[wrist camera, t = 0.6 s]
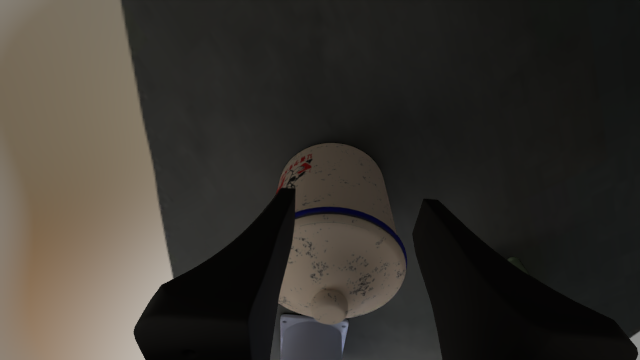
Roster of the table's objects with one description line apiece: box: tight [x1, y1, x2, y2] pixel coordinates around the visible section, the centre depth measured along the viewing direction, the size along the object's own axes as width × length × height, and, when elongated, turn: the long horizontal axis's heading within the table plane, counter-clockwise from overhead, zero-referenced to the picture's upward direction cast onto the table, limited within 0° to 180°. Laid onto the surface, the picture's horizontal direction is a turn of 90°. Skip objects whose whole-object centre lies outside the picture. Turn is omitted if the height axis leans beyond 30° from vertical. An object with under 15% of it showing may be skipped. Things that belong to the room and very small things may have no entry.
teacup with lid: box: [276, 143, 407, 325], centre depth 21 cm, size 12×9×12 cm
